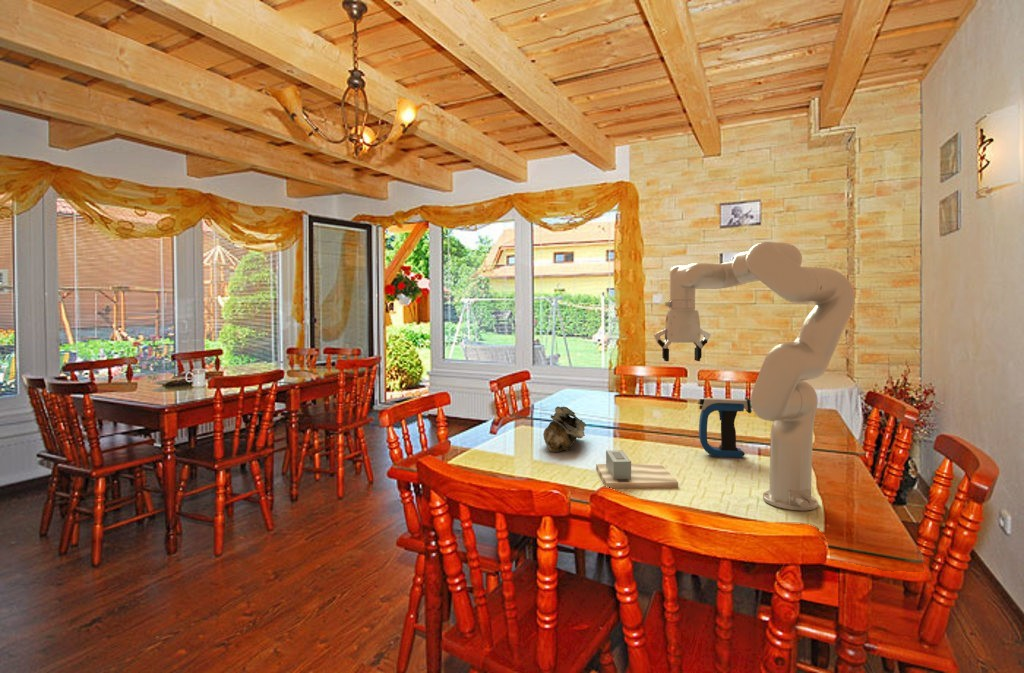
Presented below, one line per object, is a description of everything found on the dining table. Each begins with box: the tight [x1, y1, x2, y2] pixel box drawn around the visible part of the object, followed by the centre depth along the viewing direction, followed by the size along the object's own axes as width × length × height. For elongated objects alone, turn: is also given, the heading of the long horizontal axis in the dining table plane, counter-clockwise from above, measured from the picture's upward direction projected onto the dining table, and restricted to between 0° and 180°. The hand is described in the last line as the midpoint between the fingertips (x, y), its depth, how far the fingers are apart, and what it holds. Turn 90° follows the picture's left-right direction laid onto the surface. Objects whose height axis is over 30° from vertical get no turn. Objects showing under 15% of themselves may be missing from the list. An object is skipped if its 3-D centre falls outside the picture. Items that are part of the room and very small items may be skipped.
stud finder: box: [605, 449, 632, 479], centre depth 161 cm, size 12×5×5 cm, turn 0°
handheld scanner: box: [698, 397, 753, 459], centre depth 182 cm, size 5×16×20 cm, turn 78°
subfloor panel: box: [595, 462, 679, 489], centre depth 161 cm, size 18×20×2 cm
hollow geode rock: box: [542, 405, 587, 453], centre depth 200 cm, size 28×13×15 cm
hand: (681, 360), depth 170 cm, fingers open, 9 cm apart
